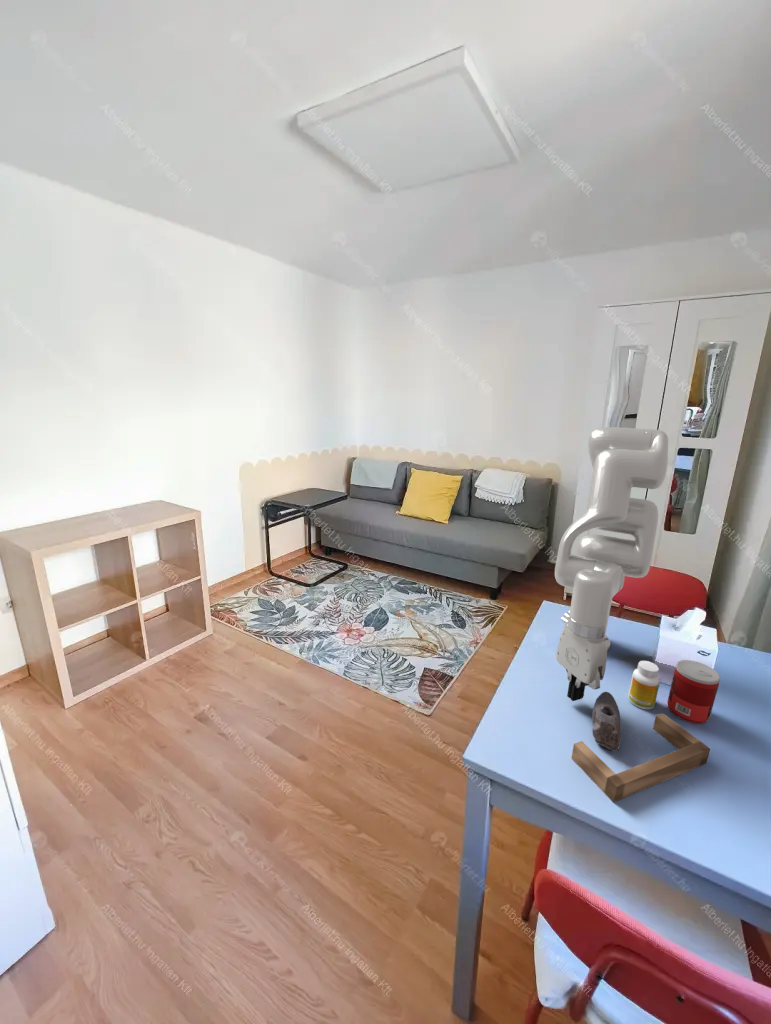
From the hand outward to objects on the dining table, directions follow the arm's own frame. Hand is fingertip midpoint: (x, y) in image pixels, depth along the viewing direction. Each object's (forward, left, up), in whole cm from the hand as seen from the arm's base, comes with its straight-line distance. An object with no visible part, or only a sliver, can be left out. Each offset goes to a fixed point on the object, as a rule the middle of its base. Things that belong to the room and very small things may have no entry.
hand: (575, 697), depth 100 cm
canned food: (+11, +22, -2) cm, 25 cm away
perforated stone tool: (+8, 0, -2) cm, 9 cm away
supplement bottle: (+5, +15, -2) cm, 16 cm away
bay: (+17, 0, -2) cm, 17 cm away
